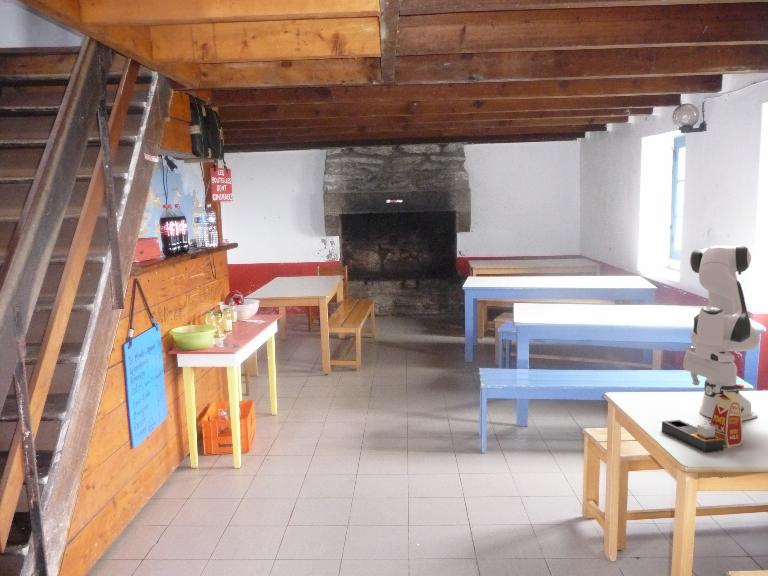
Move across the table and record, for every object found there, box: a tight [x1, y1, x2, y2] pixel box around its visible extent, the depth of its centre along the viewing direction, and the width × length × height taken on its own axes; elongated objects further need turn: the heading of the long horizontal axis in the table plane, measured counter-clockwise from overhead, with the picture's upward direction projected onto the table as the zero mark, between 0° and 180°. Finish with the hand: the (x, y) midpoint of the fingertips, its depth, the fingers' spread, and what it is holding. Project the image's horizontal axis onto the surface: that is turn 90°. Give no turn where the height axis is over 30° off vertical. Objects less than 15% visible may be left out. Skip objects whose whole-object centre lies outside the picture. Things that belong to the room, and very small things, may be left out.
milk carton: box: [709, 391, 743, 449], centre depth 224 cm, size 9×9×20 cm
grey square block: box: [696, 423, 715, 440], centre depth 219 cm, size 4×4×8 cm
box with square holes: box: [661, 419, 725, 454], centre depth 226 cm, size 8×22×4 cm, turn 15°
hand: (705, 388), depth 219 cm, fingers open, 8 cm apart
